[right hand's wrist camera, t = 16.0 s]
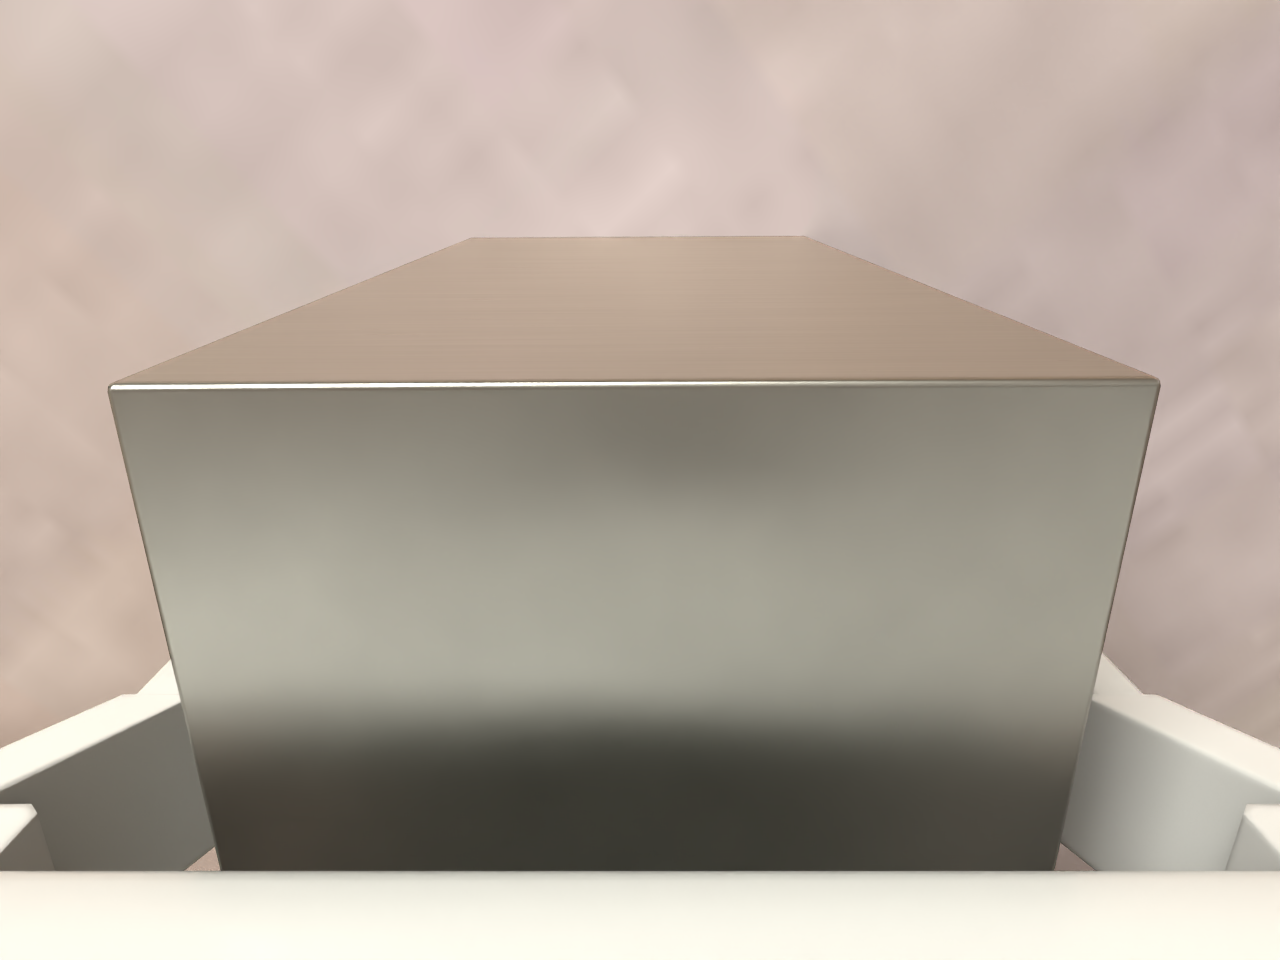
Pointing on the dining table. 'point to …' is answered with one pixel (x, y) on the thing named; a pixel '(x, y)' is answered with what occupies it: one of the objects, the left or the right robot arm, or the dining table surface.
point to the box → (636, 564)
